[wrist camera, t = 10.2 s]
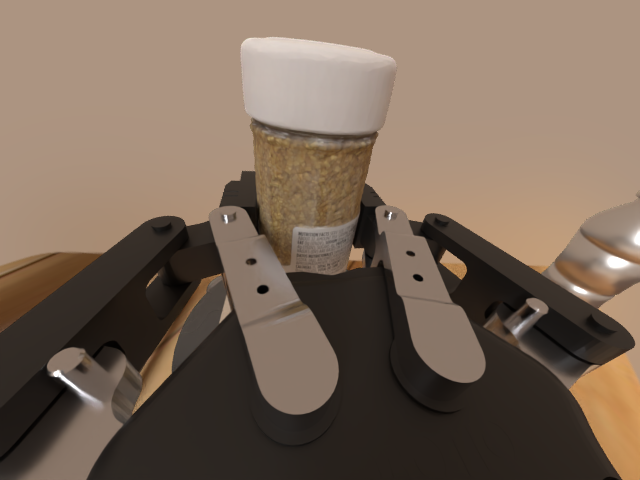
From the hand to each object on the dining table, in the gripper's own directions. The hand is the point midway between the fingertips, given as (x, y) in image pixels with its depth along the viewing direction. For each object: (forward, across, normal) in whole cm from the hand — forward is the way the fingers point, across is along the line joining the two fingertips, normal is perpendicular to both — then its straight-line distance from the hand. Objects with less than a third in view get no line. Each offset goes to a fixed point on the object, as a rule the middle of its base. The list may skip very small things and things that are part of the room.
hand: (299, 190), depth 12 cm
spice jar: (-3, 0, +8) cm, 8 cm away
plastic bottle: (+1, -31, +20) cm, 37 cm away
